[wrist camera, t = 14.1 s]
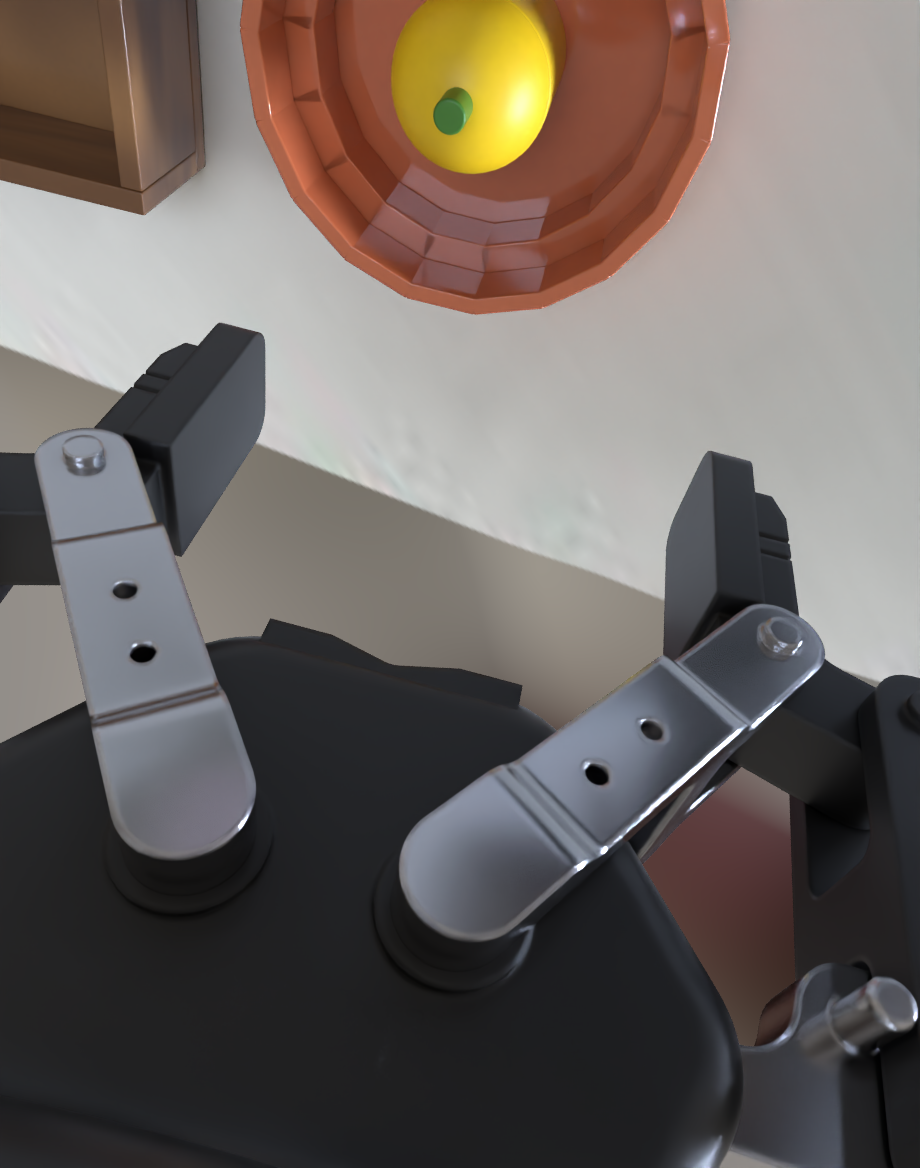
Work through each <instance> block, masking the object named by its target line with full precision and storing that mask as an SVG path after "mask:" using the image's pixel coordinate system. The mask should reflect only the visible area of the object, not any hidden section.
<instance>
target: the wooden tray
mask: <svg viewBox="0 0 920 1168" xmlns="http://www.w3.org/2000/svg"><path fill="white" fill-rule="evenodd" d="M203 167H205V154H204V137H203V119H202V102H201V85H200V67H199V50H198V32H197V15H196V0H0V180H3V181H7V182H11V183H15V184H19V185H23V186H27V187H31V188H35V189H39V190H43V191H47V192H51V193H55V194H59V195H63V196H67V197H72V198H76V199H80V200H84V201H88V202H92V203H96V204H100V205H104V206H108V207H112V208H116V209H120V210H124V211H128V212H132V213H136V214H141V215H146V214H147V213H148V212H149V211H151V210H152V209H153V208H154V207H156V206H157V205H158V204H159V203H161V202H162V201H163V200H164V199H165V198H167V197H168V196H169V195H170V194H172V193H173V192H174V191H175V190H177V189H178V188H179V187H180V186H182V185H183V184H184V183H185V182H186V181H188V180H189V179H190V178H191V177H193V176H194V175H195V174H196V173H197V172H198V171H200V170H201V169H202V168H203Z"/></svg>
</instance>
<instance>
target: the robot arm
mask: <svg viewBox="0 0 920 1168" xmlns="http://www.w3.org/2000/svg"><path fill="white" fill-rule="evenodd" d="M264 416H265V340H264V337H263V335H262V334H261V333H259V332H255V331H251V330H247V329H243V328H240V327H236V326H232V325H228V324H224V323H218V324H217V325H216V326H215V327H214V328H213V329H212V330H211V331H210V333H209V334H208V335H207V336H206V337H205V338H204V340H203V341H202V342H201V343H200V344H199V345H198V346H196V345H192V344H188V343H184V344H182V345H180V346H178V347H175V348H173V349H171V350H169V351H167V352H165V353H163V354H161V355H160V356H159V357H158V358H157V359H156V360H155V361H154V362H153V364H152V365H151V366H150V367H149V368H148V369H147V370H146V374H142V376H141V377H140V378H139V379H138V380H137V381H136V382H135V383H134V387H131V388H130V389H129V390H128V391H127V392H126V393H125V394H124V395H123V396H122V398H121V399H120V400H119V401H118V402H117V403H116V404H115V405H114V406H113V407H112V409H111V410H110V411H109V412H108V413H107V414H106V415H105V416H104V417H103V418H102V419H101V421H100V422H99V423H98V424H97V425H96V426H95V427H94V428H80V429H79V428H78V429H72V430H67V431H64V432H61V433H58V434H56V435H53V436H52V437H50V438H48V439H47V440H45V441H44V442H43V443H42V444H41V445H40V446H39V447H38V449H37V451H36V452H35V453H0V603H1V602H2V600H3V599H4V597H5V596H6V595H7V593H8V592H9V591H10V589H11V588H12V587H13V585H61V589H62V593H63V598H64V603H65V607H66V611H67V616H68V620H69V625H70V630H71V634H72V638H73V643H74V648H75V652H76V657H77V661H78V666H79V670H80V675H81V679H82V684H83V688H84V693H85V697H86V701H84V702H82V703H80V704H78V705H76V706H75V707H72V708H70V709H68V710H66V711H64V712H62V713H60V714H58V715H56V716H54V717H52V718H51V719H48V720H46V721H44V722H42V723H40V724H38V725H36V726H34V727H32V728H30V729H28V730H26V731H24V732H23V733H20V734H18V735H16V736H14V737H12V738H10V739H8V740H6V741H4V742H2V743H0V1168H920V678H917V677H913V676H908V675H894V676H890V677H888V678H886V679H884V680H883V681H882V682H881V683H880V684H879V685H878V686H877V687H876V688H875V687H873V686H871V685H869V684H867V683H865V682H864V681H861V680H860V679H858V678H856V677H854V676H852V675H850V674H848V673H846V672H844V671H842V670H841V669H839V668H837V667H836V666H834V665H833V664H831V663H830V662H828V661H827V660H826V659H824V658H825V650H824V646H823V643H822V641H821V639H820V637H819V635H818V634H817V633H816V631H815V630H814V629H813V628H812V627H811V626H810V625H809V624H808V623H807V622H806V621H805V620H803V619H802V618H801V617H799V612H798V604H797V597H796V590H795V582H794V575H793V567H792V561H790V558H791V552H790V545H789V544H788V541H789V537H788V530H787V522H786V518H785V516H784V515H783V513H782V512H781V510H780V509H779V507H778V505H777V504H776V502H775V501H774V499H773V498H772V497H771V496H767V495H764V494H760V493H756V492H755V488H754V478H753V467H752V463H751V462H750V461H747V460H743V459H739V458H736V457H732V456H728V455H724V454H720V453H716V452H713V451H708V452H707V453H706V454H705V456H704V457H703V459H702V461H701V463H700V465H699V467H698V469H697V471H696V473H695V475H694V477H693V479H692V481H691V484H690V486H689V488H688V490H687V492H686V494H685V496H684V498H683V500H682V502H681V504H680V507H679V509H678V511H677V513H676V515H675V517H674V520H673V522H672V525H671V528H670V532H669V536H668V540H667V546H666V573H665V611H664V648H663V656H660V657H658V658H657V659H655V660H654V661H653V662H651V663H650V664H648V665H647V666H646V667H644V668H643V669H642V670H640V671H639V672H637V673H636V674H635V675H633V676H632V677H630V678H629V679H628V680H626V681H625V682H624V683H622V684H621V685H619V686H618V687H617V688H616V689H614V690H613V691H611V692H610V693H609V694H607V695H606V696H604V697H603V698H602V699H600V700H599V701H598V702H596V703H595V704H593V705H592V706H591V707H589V708H588V709H587V710H585V711H584V712H582V713H581V714H580V715H578V716H577V717H576V718H574V719H573V720H571V721H570V722H569V723H567V724H566V725H565V726H563V727H562V728H560V729H559V730H558V731H556V730H555V729H554V728H553V727H552V726H551V725H549V724H548V723H547V722H546V721H544V720H543V719H542V718H540V717H539V716H538V715H536V714H534V713H533V712H532V711H530V710H528V709H527V708H525V707H523V706H520V705H519V702H520V696H521V691H522V685H519V684H515V683H512V682H508V681H504V680H500V679H497V678H493V677H489V676H485V675H482V674H477V673H474V672H470V671H466V670H462V669H454V668H435V667H415V666H398V665H392V664H389V663H386V662H384V661H382V660H380V659H378V658H376V657H374V656H372V655H371V654H369V653H367V652H365V651H363V650H361V649H359V648H357V647H355V646H353V645H351V644H349V643H347V642H345V641H343V640H341V639H339V638H337V637H335V636H333V635H331V634H327V633H323V632H319V631H316V630H312V629H308V628H304V627H301V626H297V625H293V624H289V623H286V622H282V621H278V620H274V619H270V620H269V622H268V624H267V626H266V628H265V630H264V632H263V634H262V636H261V637H258V636H249V637H234V638H228V639H221V640H218V641H213V642H209V643H204V640H203V637H202V634H201V631H200V628H199V625H198V622H197V619H196V617H195V613H194V610H193V608H192V605H191V602H190V599H189V596H188V593H187V590H186V588H185V584H184V581H183V579H182V576H181V573H180V570H179V567H178V564H177V561H176V558H175V555H177V556H182V555H183V554H184V552H185V551H186V549H187V548H188V546H189V545H190V543H191V541H192V540H193V538H194V537H195V535H196V534H197V532H198V530H199V529H200V528H201V526H202V524H203V523H204V521H205V520H206V518H207V517H208V515H209V514H210V512H211V511H212V509H213V507H214V506H215V504H216V503H217V501H218V500H219V498H220V497H221V495H222V494H223V492H224V490H225V489H226V487H227V486H228V484H229V483H230V481H231V480H232V478H233V477H234V475H235V474H236V472H237V470H238V469H239V467H240V466H241V464H242V463H243V461H244V460H245V458H246V456H247V455H248V453H249V452H250V450H251V449H252V447H253V446H254V444H255V443H256V441H257V439H258V437H259V435H260V432H261V429H262V426H263V421H264ZM741 767H743V768H745V769H746V770H748V771H750V772H752V773H754V774H755V775H757V776H759V777H761V778H762V779H764V780H766V781H767V782H769V783H771V784H773V785H774V786H776V787H778V788H780V789H781V790H783V791H785V792H787V793H788V794H789V795H790V825H791V856H792V885H793V886H792V887H793V917H794V945H795V946H794V948H795V978H796V981H795V982H794V983H793V984H791V985H790V986H788V987H787V988H786V989H784V990H783V991H782V992H780V993H779V994H777V995H776V996H775V997H773V998H772V999H771V1000H770V1001H769V1002H768V1003H767V1004H766V1006H765V1008H764V1009H763V1011H762V1014H761V1017H760V1021H759V1027H758V1034H757V1039H756V1042H755V1045H754V1046H743V1045H739V1043H738V1038H737V1035H736V1031H735V1028H734V1025H733V1022H732V1019H731V1017H730V1015H729V1012H728V1010H727V1008H726V1006H725V1004H724V1002H723V1000H722V998H721V996H720V994H719V993H718V991H717V989H716V987H715V986H714V984H713V982H712V981H711V979H710V977H709V976H708V974H707V972H706V971H705V969H704V967H703V966H702V964H701V962H700V961H699V959H698V957H697V956H696V954H695V952H694V951H693V949H692V947H691V946H690V944H689V942H688V941H687V939H686V937H685V936H684V934H683V932H682V931H681V929H680V927H679V925H678V924H677V922H676V920H675V919H674V917H673V915H672V914H671V912H670V910H669V909H668V907H667V905H666V904H665V902H664V900H663V899H662V897H661V895H660V894H659V892H658V890H657V889H656V887H655V885H654V884H653V882H652V880H651V879H650V877H649V875H648V874H647V872H646V870H645V869H644V867H643V865H642V864H643V863H644V862H645V861H646V860H647V859H648V858H649V857H650V856H651V855H652V854H653V853H654V852H655V851H656V850H657V848H658V847H659V846H660V845H661V844H662V843H663V842H664V841H665V840H666V838H667V837H668V836H669V835H670V834H671V833H672V832H673V831H674V830H675V829H676V828H677V827H678V826H679V825H680V824H681V823H682V822H683V821H684V820H685V819H686V818H687V817H688V816H689V815H691V813H693V812H694V811H695V810H696V809H697V808H698V807H699V806H700V805H701V804H702V803H703V802H704V801H706V800H707V799H708V798H709V797H710V796H711V795H712V794H713V793H714V792H715V791H716V790H717V789H718V788H719V787H720V786H721V785H723V784H724V783H725V782H726V781H727V780H728V779H729V778H730V777H731V776H732V775H733V774H734V773H736V772H737V771H738V770H739V769H740V768H741Z"/></svg>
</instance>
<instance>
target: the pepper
mask: <svg viewBox="0 0 920 1168" xmlns="http://www.w3.org/2000/svg"><path fill="white" fill-rule="evenodd" d="M565 59H566V37H565V31H564V25H563V22H562V18H561V15H560V12H559V10H558V8H557V5H556V3H555V2H554V0H427V1H426V2H425V3H423V4H422V5H421V6H420V7H419V8H418V9H417V10H416V11H415V12H414V13H413V15H412V16H411V17H410V19H409V20H408V21H407V23H406V24H405V26H404V28H403V30H402V32H401V34H400V36H399V39H398V41H397V43H396V47H395V51H394V54H393V60H392V67H391V88H392V97H393V102H394V107H395V110H396V113H397V116H398V119H399V121H400V124H401V126H402V128H403V130H404V132H405V133H406V135H407V137H408V138H409V140H410V141H411V142H412V144H413V145H414V146H415V147H416V148H417V150H418V151H419V152H420V153H421V154H423V155H424V156H425V157H426V158H427V159H428V160H430V161H432V162H433V163H435V164H436V165H438V166H440V167H442V168H444V169H447V170H450V171H453V172H458V173H464V174H479V173H486V172H490V171H493V170H497V169H499V168H501V167H504V166H506V165H508V164H509V163H511V162H513V161H514V160H516V159H517V158H518V157H519V156H521V155H522V154H523V153H524V152H525V151H526V150H527V149H528V148H529V147H530V145H531V144H532V143H533V141H534V140H535V138H536V137H537V135H538V133H539V132H540V130H541V128H542V126H543V123H544V121H545V118H546V116H547V113H548V111H549V108H550V106H551V103H552V101H553V98H554V96H555V93H556V91H557V88H558V86H559V83H560V81H561V77H562V74H563V70H564V65H565Z"/></svg>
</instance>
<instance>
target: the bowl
mask: <svg viewBox="0 0 920 1168" xmlns="http://www.w3.org/2000/svg"><path fill="white" fill-rule="evenodd" d="M426 1H427V0H243V5H242V13H241V21H240V27H241V28H240V32H241V38H242V44H243V50H244V56H245V62H246V68H247V74H248V80H249V86H250V92H251V99H252V105H253V111H254V117H255V120H257V121H256V124H257V126H258V128H259V130H260V132H261V134H262V136H263V139H264V141H265V143H266V145H267V147H268V149H269V151H270V154H271V156H272V158H273V160H274V162H275V164H276V166H277V168H278V171H279V173H280V175H281V177H282V179H283V181H284V183H285V185H286V188H287V190H288V192H289V194H290V196H291V198H293V201H294V202H295V203H296V204H297V206H298V207H299V208H300V209H301V210H302V211H303V213H304V214H305V215H306V216H307V217H308V218H309V219H310V221H311V222H312V223H313V224H314V225H315V226H316V227H317V229H318V230H319V231H320V232H321V233H322V234H323V235H324V237H325V238H326V239H327V240H328V241H329V242H330V243H331V245H332V246H333V247H334V248H335V249H336V250H337V251H338V253H339V254H340V255H341V256H342V257H343V258H345V260H346V261H348V262H349V263H351V264H352V265H354V266H356V267H357V268H359V269H360V270H362V271H364V272H365V273H367V274H368V275H370V276H372V277H373V278H375V279H376V280H378V281H380V282H381V283H383V284H384V285H386V286H388V287H389V288H391V289H392V290H394V291H396V292H397V293H399V294H400V295H402V296H404V297H407V298H409V299H413V300H417V301H421V302H425V303H429V304H433V305H437V306H441V307H445V308H449V309H453V310H457V311H461V312H465V313H469V314H475V315H476V314H487V313H498V312H509V311H520V310H531V309H542V308H543V307H544V308H545V307H547V306H549V305H552V304H554V303H556V302H558V301H560V300H562V299H565V298H567V297H569V296H571V295H573V294H576V293H578V292H580V291H582V290H584V289H586V288H589V287H591V286H593V285H595V284H597V283H599V282H602V281H604V280H606V279H608V278H609V277H611V276H613V275H614V274H615V273H616V272H617V271H618V270H619V269H620V268H621V267H622V266H623V265H624V264H625V263H626V262H627V261H628V260H629V259H630V258H631V257H633V256H634V255H635V254H636V253H637V252H638V251H639V250H640V249H641V248H642V247H643V246H644V245H645V244H646V243H647V242H648V241H649V240H650V239H651V238H652V237H653V236H655V235H656V234H657V233H658V232H659V231H660V230H661V229H662V228H663V227H664V226H665V225H666V224H667V223H668V221H669V220H670V219H671V217H672V215H673V213H674V211H675V210H676V208H677V206H678V204H679V202H680V200H681V198H682V196H683V195H684V193H685V191H686V189H687V187H688V185H689V183H690V182H691V180H692V178H693V176H694V174H695V172H696V170H697V168H698V167H699V165H700V163H701V161H702V159H703V157H704V155H705V154H706V152H707V150H708V148H709V146H710V144H711V140H712V139H713V133H714V128H715V123H716V117H717V112H718V106H719V101H720V96H721V90H722V85H723V79H724V74H725V69H726V63H727V58H728V53H729V47H730V42H729V41H730V33H729V25H728V18H727V10H726V2H725V0H554V2H555V3H556V5H557V8H558V10H559V12H560V15H561V18H562V22H563V25H564V31H565V37H566V59H565V65H564V70H563V74H562V77H561V81H560V83H559V86H558V88H557V91H556V93H555V96H554V98H553V101H552V103H551V106H550V108H549V111H548V113H547V116H546V118H545V121H544V123H543V126H542V128H541V130H540V132H539V133H538V135H537V137H536V138H535V140H534V141H533V143H532V144H531V145H530V147H529V148H528V149H527V150H526V151H525V152H524V153H523V154H522V155H521V156H519V157H518V158H517V159H516V160H514V161H513V162H511V163H509V164H508V165H506V166H504V167H501V168H499V169H497V170H493V171H490V172H486V173H479V174H464V173H458V172H453V171H450V170H447V169H444V168H442V167H440V166H438V165H436V164H435V163H433V162H432V161H430V160H428V159H427V158H426V157H425V156H424V155H423V154H421V153H420V152H419V151H418V150H417V148H416V147H415V146H414V145H413V144H412V142H411V141H410V140H409V138H408V137H407V135H406V133H405V132H404V130H403V128H402V126H401V124H400V121H399V119H398V116H397V113H396V110H395V107H394V102H393V97H392V88H391V67H392V60H393V54H394V51H395V47H396V43H397V41H398V39H399V36H400V34H401V32H402V30H403V28H404V26H405V24H406V23H407V21H408V20H409V19H410V17H411V16H412V15H413V13H414V12H415V11H416V10H417V9H418V8H419V7H420V6H421V5H422V4H423V3H425V2H426Z"/></svg>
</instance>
